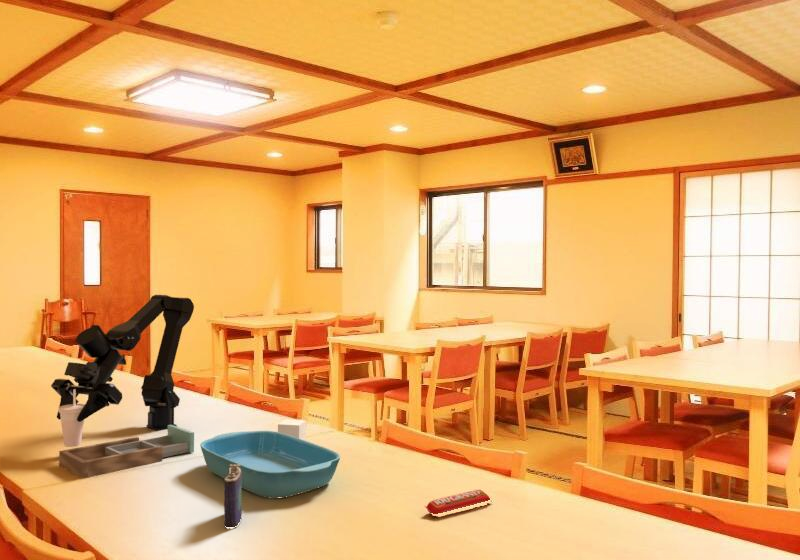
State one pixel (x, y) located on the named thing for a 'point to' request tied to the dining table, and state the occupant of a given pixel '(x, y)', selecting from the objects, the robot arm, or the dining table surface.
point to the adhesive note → (293, 428)
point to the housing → (106, 458)
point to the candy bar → (457, 501)
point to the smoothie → (71, 423)
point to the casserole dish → (271, 461)
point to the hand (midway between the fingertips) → (68, 419)
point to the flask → (232, 496)
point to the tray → (159, 443)
